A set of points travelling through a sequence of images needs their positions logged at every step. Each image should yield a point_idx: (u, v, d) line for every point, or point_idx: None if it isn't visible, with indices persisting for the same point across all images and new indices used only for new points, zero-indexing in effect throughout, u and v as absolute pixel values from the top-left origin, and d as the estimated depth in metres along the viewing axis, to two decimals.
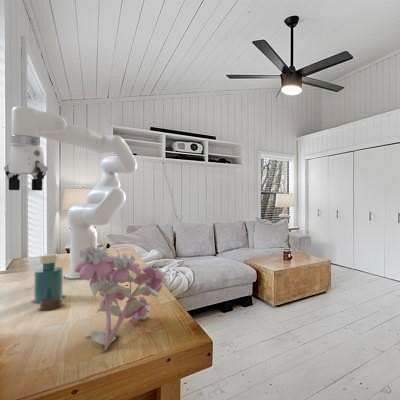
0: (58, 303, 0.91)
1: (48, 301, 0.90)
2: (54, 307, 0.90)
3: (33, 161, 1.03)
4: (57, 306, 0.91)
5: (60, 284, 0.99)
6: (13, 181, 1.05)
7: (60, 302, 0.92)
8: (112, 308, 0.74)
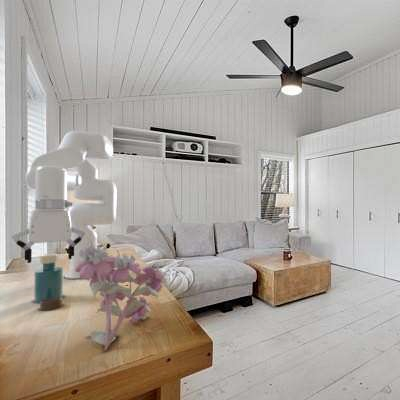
0: (58, 303, 0.91)
1: (48, 301, 0.90)
2: (54, 307, 0.90)
3: (71, 227, 0.94)
4: (57, 306, 0.91)
5: (60, 284, 0.99)
6: (31, 252, 0.88)
7: (60, 302, 0.92)
8: (112, 308, 0.74)
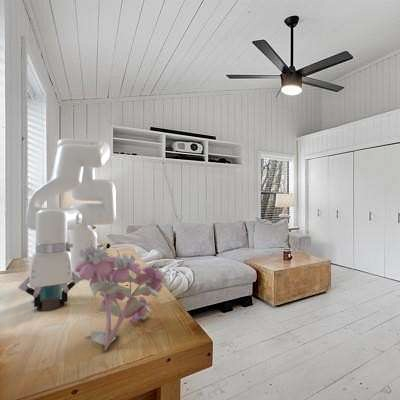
0: (58, 303, 0.91)
1: (48, 301, 0.90)
2: (54, 307, 0.90)
3: (71, 269, 0.94)
4: (57, 306, 0.91)
5: (60, 284, 0.99)
6: (40, 298, 0.89)
7: (60, 302, 0.92)
8: (112, 308, 0.74)
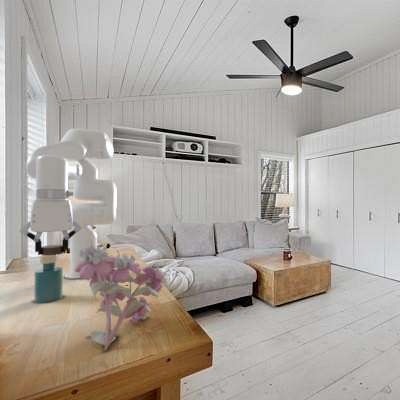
0: (59, 249, 0.92)
1: (49, 247, 0.90)
2: (55, 253, 0.91)
3: (72, 217, 0.94)
4: (58, 252, 0.91)
5: (60, 284, 0.99)
6: (41, 244, 0.90)
7: (61, 249, 0.92)
8: (112, 308, 0.74)
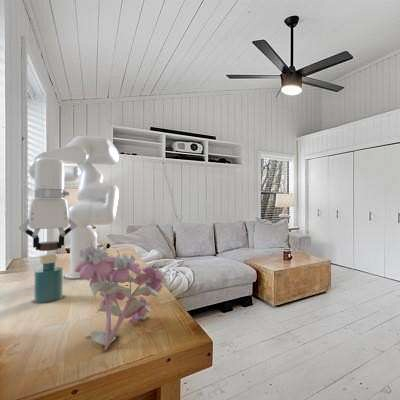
0: (56, 245, 0.98)
1: (46, 243, 0.97)
2: (52, 248, 0.97)
3: (68, 215, 1.01)
4: (54, 248, 0.98)
5: (60, 284, 0.99)
6: (38, 240, 0.96)
7: (57, 245, 0.99)
8: (112, 308, 0.74)
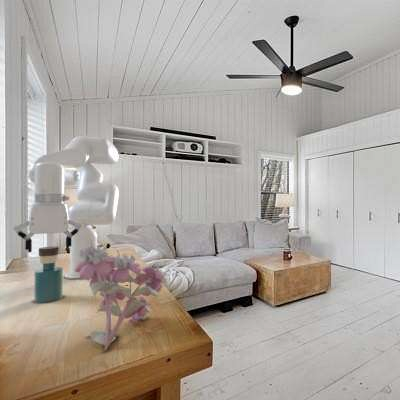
0: (56, 250, 0.98)
1: (46, 248, 0.97)
2: (51, 254, 0.97)
3: (68, 220, 1.01)
4: (54, 253, 0.98)
5: (60, 284, 0.99)
6: (31, 242, 0.95)
7: (57, 250, 0.99)
8: (112, 308, 0.74)
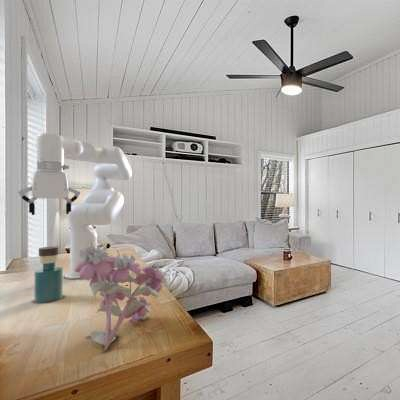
0: (56, 250, 0.98)
1: (46, 248, 0.97)
2: (51, 254, 0.97)
3: (68, 187, 1.10)
4: (54, 253, 0.98)
5: (60, 284, 0.99)
6: (34, 206, 1.04)
7: (57, 250, 0.99)
8: (112, 308, 0.74)
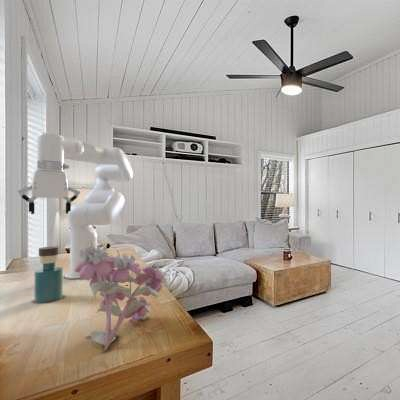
0: (56, 250, 0.98)
1: (46, 248, 0.97)
2: (51, 254, 0.97)
3: (67, 186, 1.10)
4: (54, 253, 0.98)
5: (60, 284, 0.99)
6: (33, 205, 1.04)
7: (57, 250, 0.99)
8: (112, 308, 0.74)
